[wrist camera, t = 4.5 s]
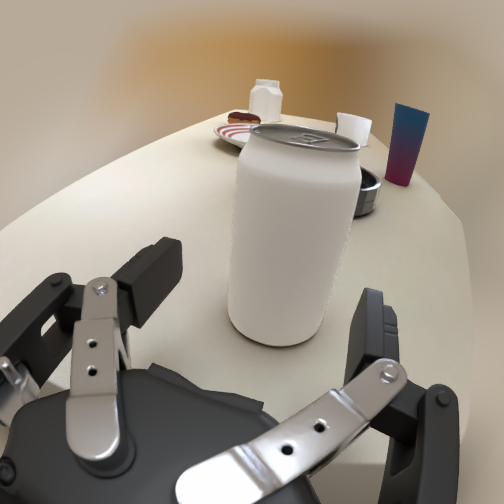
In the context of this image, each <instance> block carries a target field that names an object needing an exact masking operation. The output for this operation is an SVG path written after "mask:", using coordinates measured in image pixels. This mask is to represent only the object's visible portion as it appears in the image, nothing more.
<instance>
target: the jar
mask: <svg viewBox="0 0 504 504" xmlns="http://www.w3.org/2000/svg"><path fill="white" fill-rule="evenodd" d="M279 83H280V82H279V81H272V80H263V79H256V85H255V86H254V88H253V89H252V90H251V91H250V102H249V112H248V113H251V114H254V115H257V116H259V117H260V119H261V121H265V122H279V121H280V112H281V104H282V98H283V94H282V92H281V90H280V89H279Z"/></svg>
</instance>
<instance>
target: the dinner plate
mask: <svg viewBox="0 0 504 504" xmlns="http://www.w3.org/2000/svg"><path fill="white" fill-rule="evenodd" d="M253 125H258V124H244V123H237V124H224V125H219V126H216V127H215V128H214V132H215V134H217V135H218V136H219V137H221V138H222V139H224V140H225V141H227V142H230V143H232V144H234V145H236V146H238V147H239V148H242V149H243V148H244V146H245V144H246V143H247V141H248V139H249V137H250V132H249V128H250V127H251V126H253Z"/></svg>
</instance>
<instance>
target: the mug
mask: <svg viewBox="0 0 504 504" xmlns="http://www.w3.org/2000/svg"><path fill="white" fill-rule="evenodd" d="M371 123H372V121H371V120H369V119H366V118H363V117H358V116H355V115H350V114H344V113H337V121H336V129H335V134H338V135H341V136H344V137H346V138H349V139H351V140H353V141H355V142H357V143H358V144H359V145H360V147H365V146H366V145H367V140H368V136H369V132H370V128H371Z"/></svg>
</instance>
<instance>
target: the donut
mask: <svg viewBox="0 0 504 504" xmlns="http://www.w3.org/2000/svg"><path fill="white" fill-rule="evenodd" d="M260 122H261V119H260V117H259V116H257V115H254V114H251V113H240V112H233V113H230V114H229V115H228V123H230V124H237V123H244V124H260Z"/></svg>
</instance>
